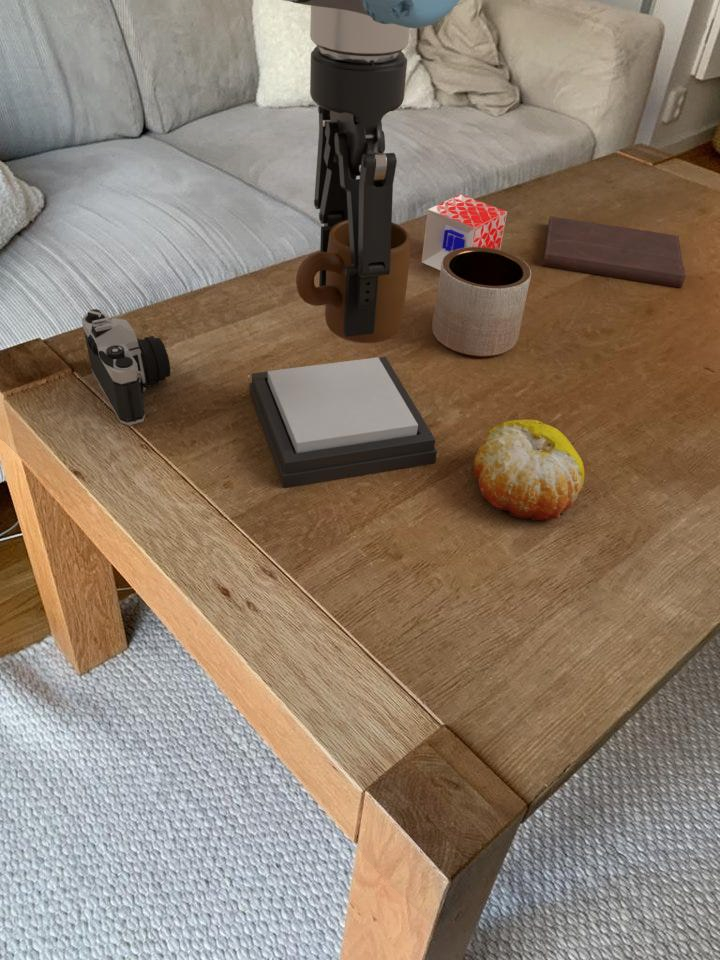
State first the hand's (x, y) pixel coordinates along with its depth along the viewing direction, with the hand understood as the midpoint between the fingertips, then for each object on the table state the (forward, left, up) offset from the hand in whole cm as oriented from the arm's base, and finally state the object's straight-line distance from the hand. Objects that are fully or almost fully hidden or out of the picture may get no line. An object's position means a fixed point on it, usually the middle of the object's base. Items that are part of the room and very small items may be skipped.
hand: (345, 310), depth 78 cm
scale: (0, 0, -14) cm, 14 cm away
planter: (+22, +14, -14) cm, 30 cm away
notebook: (+52, +31, -14) cm, 62 cm away
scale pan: (0, 0, -12) cm, 12 cm away
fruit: (+15, -14, -14) cm, 25 cm away
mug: (0, -1, -2) cm, 2 cm away
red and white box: (+28, +33, -14) cm, 46 cm away
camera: (-20, +12, -14) cm, 27 cm away
